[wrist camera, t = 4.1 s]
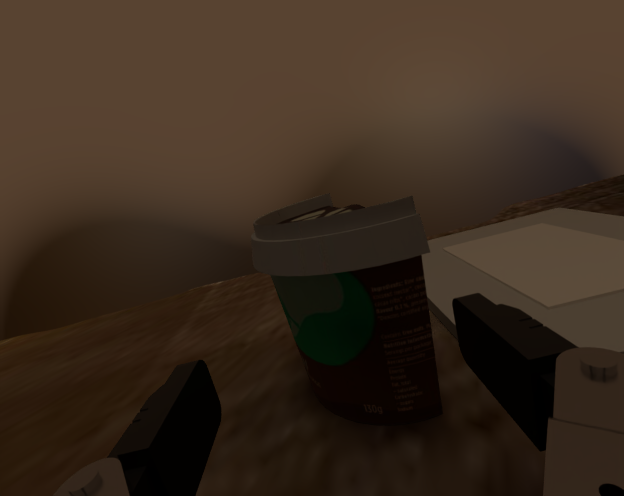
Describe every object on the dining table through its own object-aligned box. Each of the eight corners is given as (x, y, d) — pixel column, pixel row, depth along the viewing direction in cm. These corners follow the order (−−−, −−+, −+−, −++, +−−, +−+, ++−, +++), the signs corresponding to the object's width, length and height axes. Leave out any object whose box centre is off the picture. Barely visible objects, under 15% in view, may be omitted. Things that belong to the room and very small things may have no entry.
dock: (510, 397, 15) (507, 374, 15) (384, 260, 38) (382, 250, 38) (977, 288, 14) (983, 262, 14) (559, 216, 38) (558, 205, 37)
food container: (280, 349, 25) (240, 216, 22) (358, 322, 26) (327, 192, 23) (321, 498, 13) (243, 247, 11) (464, 437, 14) (420, 195, 12)
